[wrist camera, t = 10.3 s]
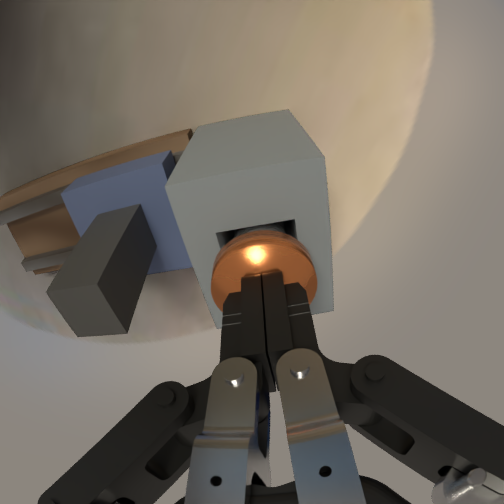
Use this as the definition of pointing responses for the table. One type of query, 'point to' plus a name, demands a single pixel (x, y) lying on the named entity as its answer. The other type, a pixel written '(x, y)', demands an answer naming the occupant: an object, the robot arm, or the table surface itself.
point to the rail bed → (54, 209)
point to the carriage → (117, 244)
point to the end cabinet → (252, 193)
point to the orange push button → (261, 260)
